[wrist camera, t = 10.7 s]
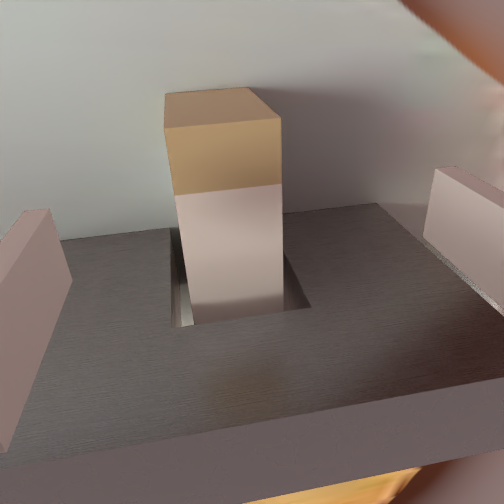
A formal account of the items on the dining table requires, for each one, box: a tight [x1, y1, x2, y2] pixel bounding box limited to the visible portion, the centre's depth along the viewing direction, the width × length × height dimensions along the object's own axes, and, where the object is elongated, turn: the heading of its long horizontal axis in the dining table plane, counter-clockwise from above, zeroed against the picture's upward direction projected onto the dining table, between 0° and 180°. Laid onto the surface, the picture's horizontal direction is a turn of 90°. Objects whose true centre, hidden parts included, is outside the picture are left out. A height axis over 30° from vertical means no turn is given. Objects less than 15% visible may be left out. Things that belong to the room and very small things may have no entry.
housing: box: [0, 203, 504, 504], centre depth 24 cm, size 5×24×17 cm, turn 93°
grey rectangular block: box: [164, 87, 284, 325], centre depth 27 cm, size 23×5×9 cm, turn 3°
